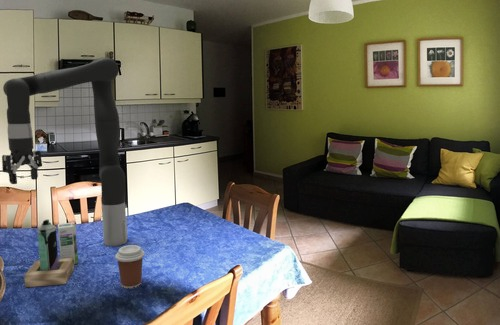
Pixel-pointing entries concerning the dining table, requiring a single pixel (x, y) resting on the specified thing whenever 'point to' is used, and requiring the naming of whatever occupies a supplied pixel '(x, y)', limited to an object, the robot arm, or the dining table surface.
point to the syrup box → (68, 241)
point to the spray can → (48, 246)
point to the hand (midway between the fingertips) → (24, 181)
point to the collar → (49, 274)
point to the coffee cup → (130, 265)
